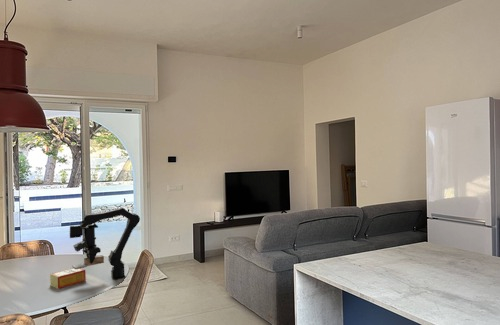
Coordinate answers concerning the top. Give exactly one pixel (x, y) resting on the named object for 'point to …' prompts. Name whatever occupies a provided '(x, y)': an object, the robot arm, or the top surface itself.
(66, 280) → the baking soda box
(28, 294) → the top surface
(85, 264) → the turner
